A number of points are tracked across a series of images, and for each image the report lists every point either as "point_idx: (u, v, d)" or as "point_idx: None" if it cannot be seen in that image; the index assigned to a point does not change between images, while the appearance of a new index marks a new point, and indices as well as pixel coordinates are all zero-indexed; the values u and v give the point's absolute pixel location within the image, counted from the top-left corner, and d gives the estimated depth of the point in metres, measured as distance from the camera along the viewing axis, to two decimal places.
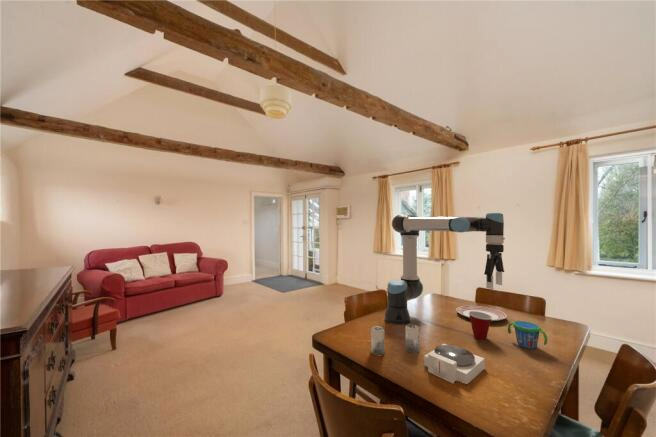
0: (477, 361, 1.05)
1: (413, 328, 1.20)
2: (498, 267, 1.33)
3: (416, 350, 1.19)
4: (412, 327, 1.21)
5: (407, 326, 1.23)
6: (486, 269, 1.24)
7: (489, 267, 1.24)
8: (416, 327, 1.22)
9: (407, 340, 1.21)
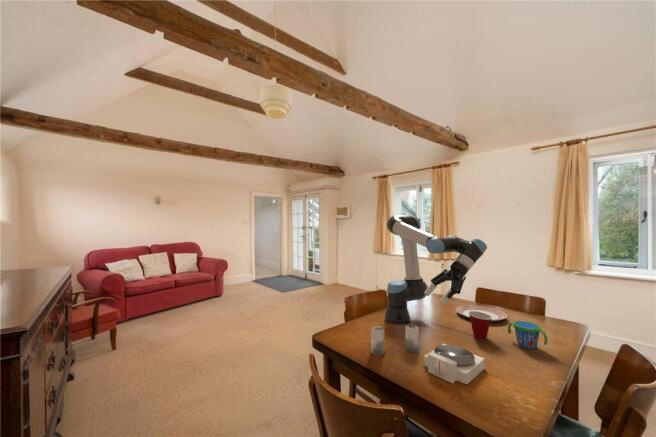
0: (477, 361, 1.05)
1: (413, 328, 1.20)
2: (439, 282, 1.31)
3: (416, 350, 1.19)
4: (412, 327, 1.21)
5: (407, 326, 1.23)
6: (458, 287, 1.16)
7: (460, 287, 1.17)
8: (416, 327, 1.22)
9: (407, 340, 1.21)
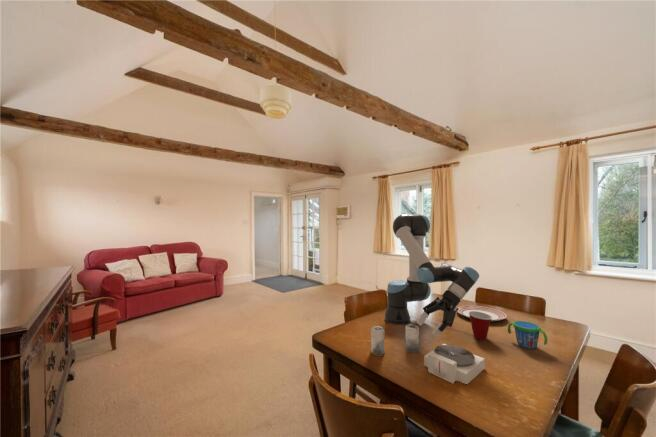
0: (477, 361, 1.05)
1: (413, 328, 1.20)
2: (431, 311, 1.28)
3: (416, 350, 1.19)
4: (412, 327, 1.21)
5: (407, 326, 1.23)
6: (450, 320, 1.14)
7: (452, 319, 1.14)
8: (416, 327, 1.22)
9: (407, 340, 1.21)
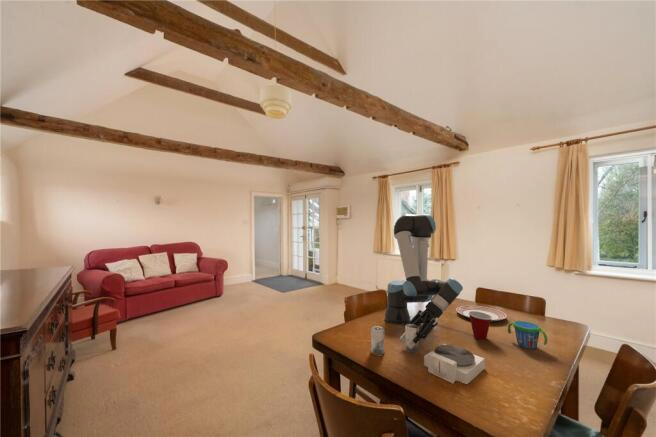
0: (477, 361, 1.05)
1: (413, 328, 1.20)
2: None
3: (416, 350, 1.19)
4: (412, 327, 1.21)
5: (407, 326, 1.23)
6: (424, 333, 1.16)
7: (427, 333, 1.17)
8: (416, 327, 1.22)
9: (407, 340, 1.21)
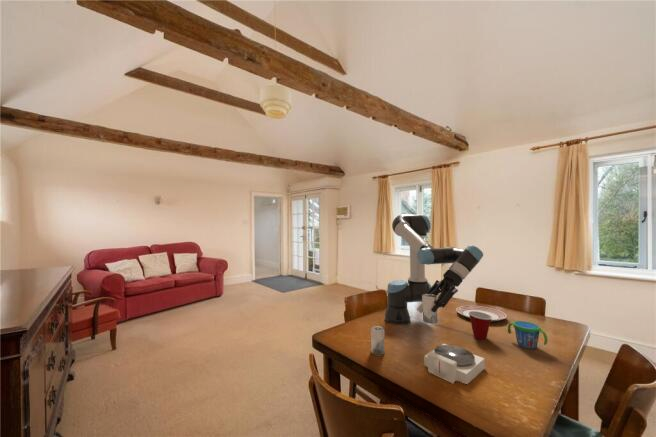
0: (477, 361, 1.05)
1: (431, 297, 1.13)
2: None
3: (435, 320, 1.12)
4: (429, 296, 1.14)
5: (424, 295, 1.15)
6: (443, 301, 1.09)
7: (447, 300, 1.09)
8: (434, 296, 1.14)
9: (425, 310, 1.13)
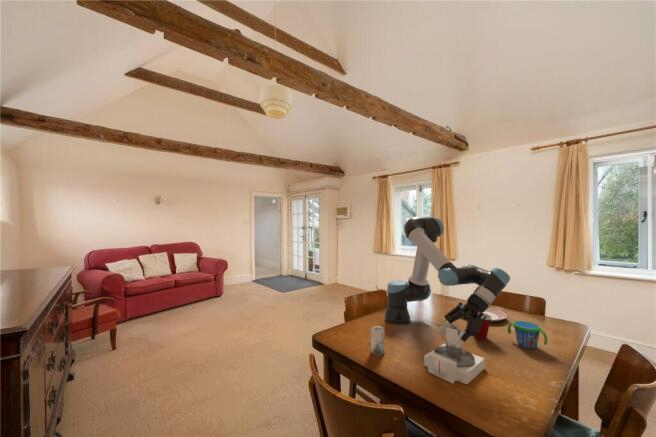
0: (477, 361, 1.05)
1: (456, 329, 1.06)
2: (454, 318, 1.13)
3: (459, 354, 1.06)
4: (454, 328, 1.07)
5: (448, 327, 1.09)
6: (474, 329, 1.01)
7: (477, 328, 1.01)
8: (458, 328, 1.08)
9: (449, 343, 1.07)
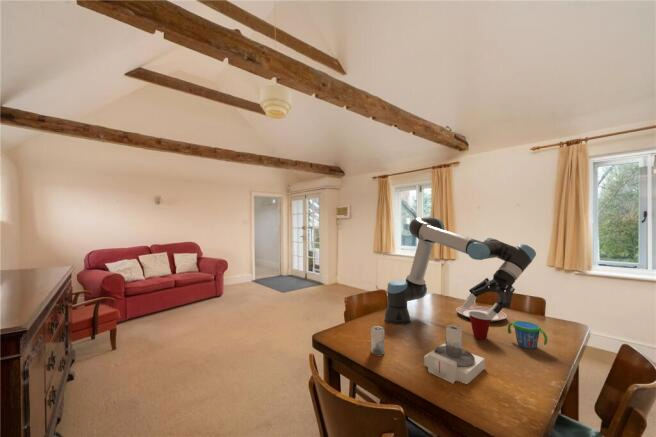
0: (477, 361, 1.05)
1: (456, 329, 1.06)
2: (480, 292, 1.17)
3: (459, 354, 1.06)
4: (454, 328, 1.07)
5: (448, 327, 1.09)
6: (507, 301, 1.02)
7: (509, 300, 1.03)
8: (458, 328, 1.08)
9: (449, 343, 1.07)
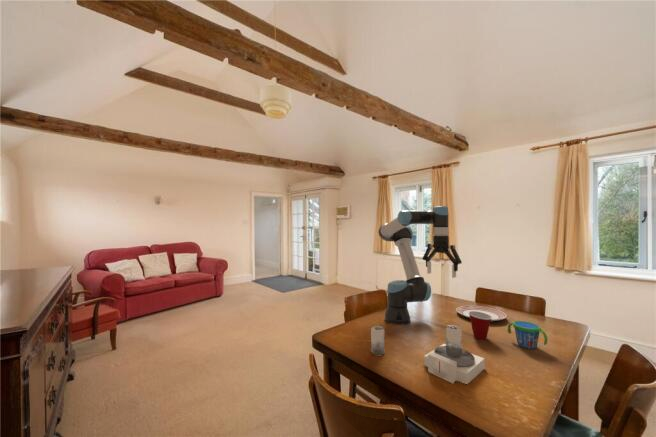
0: (477, 361, 1.05)
1: (456, 329, 1.06)
2: (431, 257, 1.43)
3: (459, 354, 1.06)
4: (454, 328, 1.07)
5: (448, 327, 1.09)
6: (458, 259, 1.31)
7: (458, 257, 1.32)
8: (458, 328, 1.08)
9: (449, 343, 1.07)
